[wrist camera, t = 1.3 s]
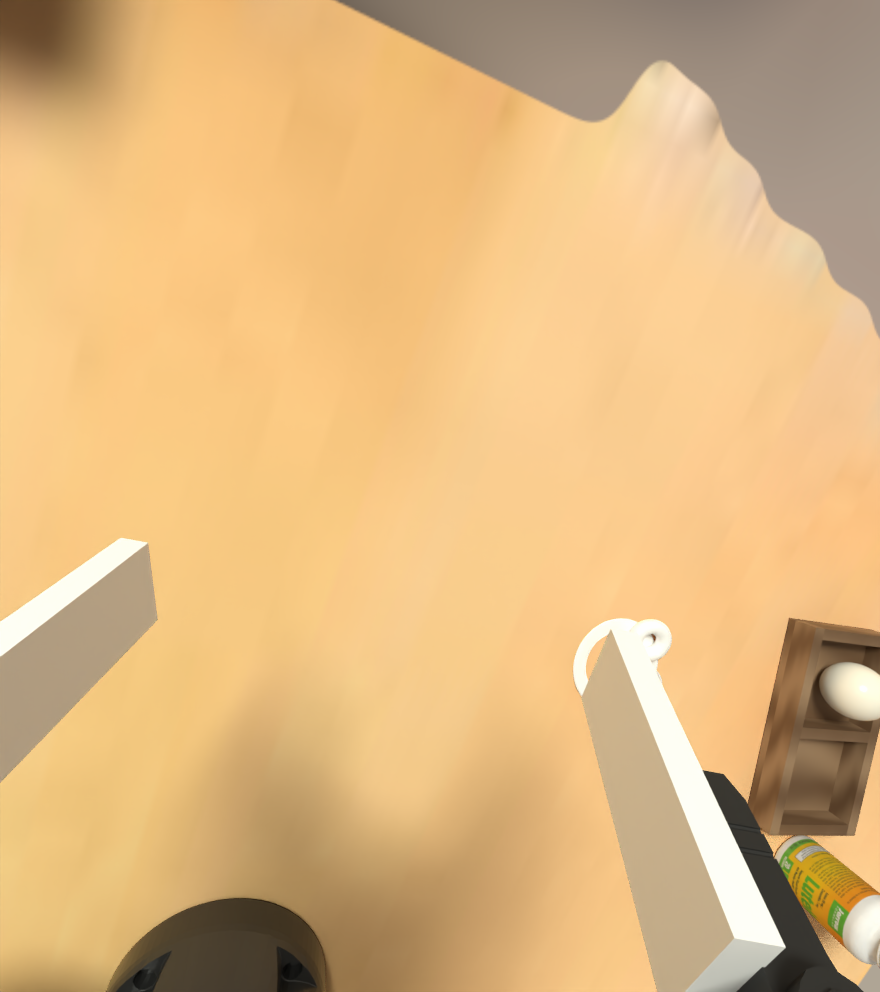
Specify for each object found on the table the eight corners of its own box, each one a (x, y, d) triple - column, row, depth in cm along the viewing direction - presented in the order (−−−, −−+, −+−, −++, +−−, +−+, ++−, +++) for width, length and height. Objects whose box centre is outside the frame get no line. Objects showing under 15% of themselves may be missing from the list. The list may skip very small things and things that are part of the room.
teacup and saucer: (654, 602, 39) (690, 619, 35) (667, 687, 40) (704, 712, 36) (562, 631, 37) (588, 652, 33) (579, 719, 38) (606, 749, 34)
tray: (827, 815, 45) (854, 835, 42) (745, 814, 42) (769, 835, 40) (870, 629, 44) (900, 639, 41) (789, 618, 42) (816, 627, 39)
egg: (840, 704, 43) (900, 734, 38) (800, 700, 42) (858, 731, 37) (851, 655, 43) (913, 679, 38) (811, 650, 42) (871, 675, 37)
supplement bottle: (768, 844, 43) (887, 952, 34) (813, 825, 44) (941, 924, 35) (773, 893, 44) (892, 1012, 34) (817, 873, 45) (944, 984, 35)
